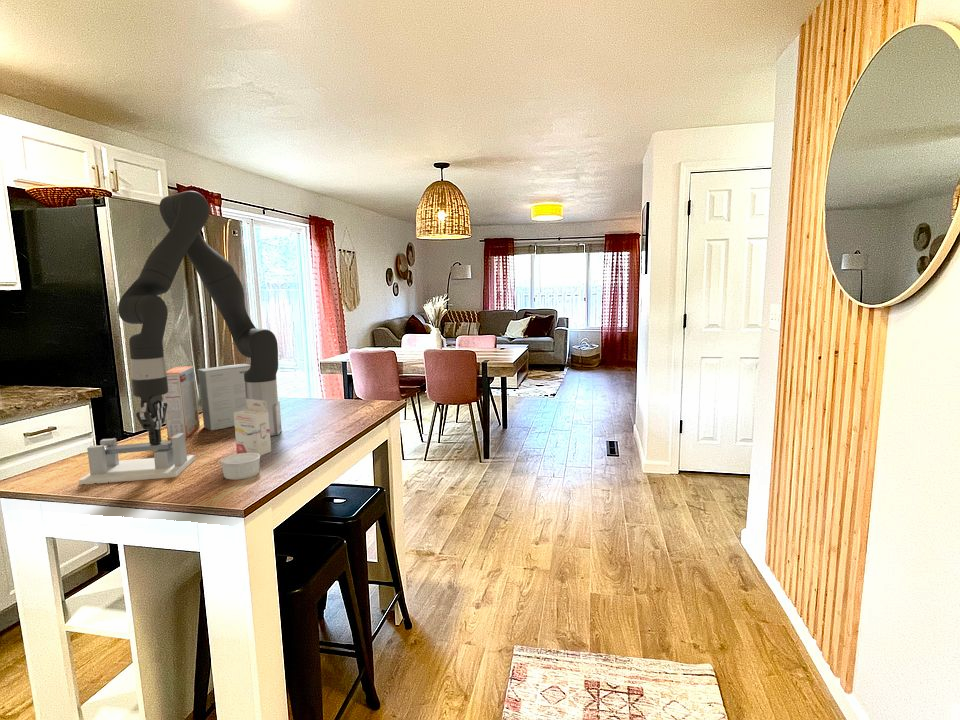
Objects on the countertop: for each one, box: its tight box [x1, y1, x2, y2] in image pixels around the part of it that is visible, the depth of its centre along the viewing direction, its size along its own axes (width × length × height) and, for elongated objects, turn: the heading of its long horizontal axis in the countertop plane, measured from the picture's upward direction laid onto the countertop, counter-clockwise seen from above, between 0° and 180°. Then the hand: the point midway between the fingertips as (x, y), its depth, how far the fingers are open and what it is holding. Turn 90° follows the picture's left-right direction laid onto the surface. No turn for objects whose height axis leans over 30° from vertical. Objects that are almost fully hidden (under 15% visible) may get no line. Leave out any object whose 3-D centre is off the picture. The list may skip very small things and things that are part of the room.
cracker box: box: [162, 365, 201, 440], centre depth 167 cm, size 14×6×21 cm, turn 13°
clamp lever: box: [104, 440, 173, 455], centre depth 132 cm, size 17×4×2 cm, turn 101°
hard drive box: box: [197, 363, 251, 432], centre depth 177 cm, size 16×8×20 cm, turn 133°
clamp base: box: [78, 433, 196, 486], centre depth 132 cm, size 21×14×9 cm, turn 101°
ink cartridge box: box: [234, 399, 272, 457], centre depth 145 cm, size 9×5×15 cm, turn 65°
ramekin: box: [220, 453, 261, 481], centre depth 129 cm, size 9×9×4 cm
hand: (155, 443), depth 132 cm, fingers closed
